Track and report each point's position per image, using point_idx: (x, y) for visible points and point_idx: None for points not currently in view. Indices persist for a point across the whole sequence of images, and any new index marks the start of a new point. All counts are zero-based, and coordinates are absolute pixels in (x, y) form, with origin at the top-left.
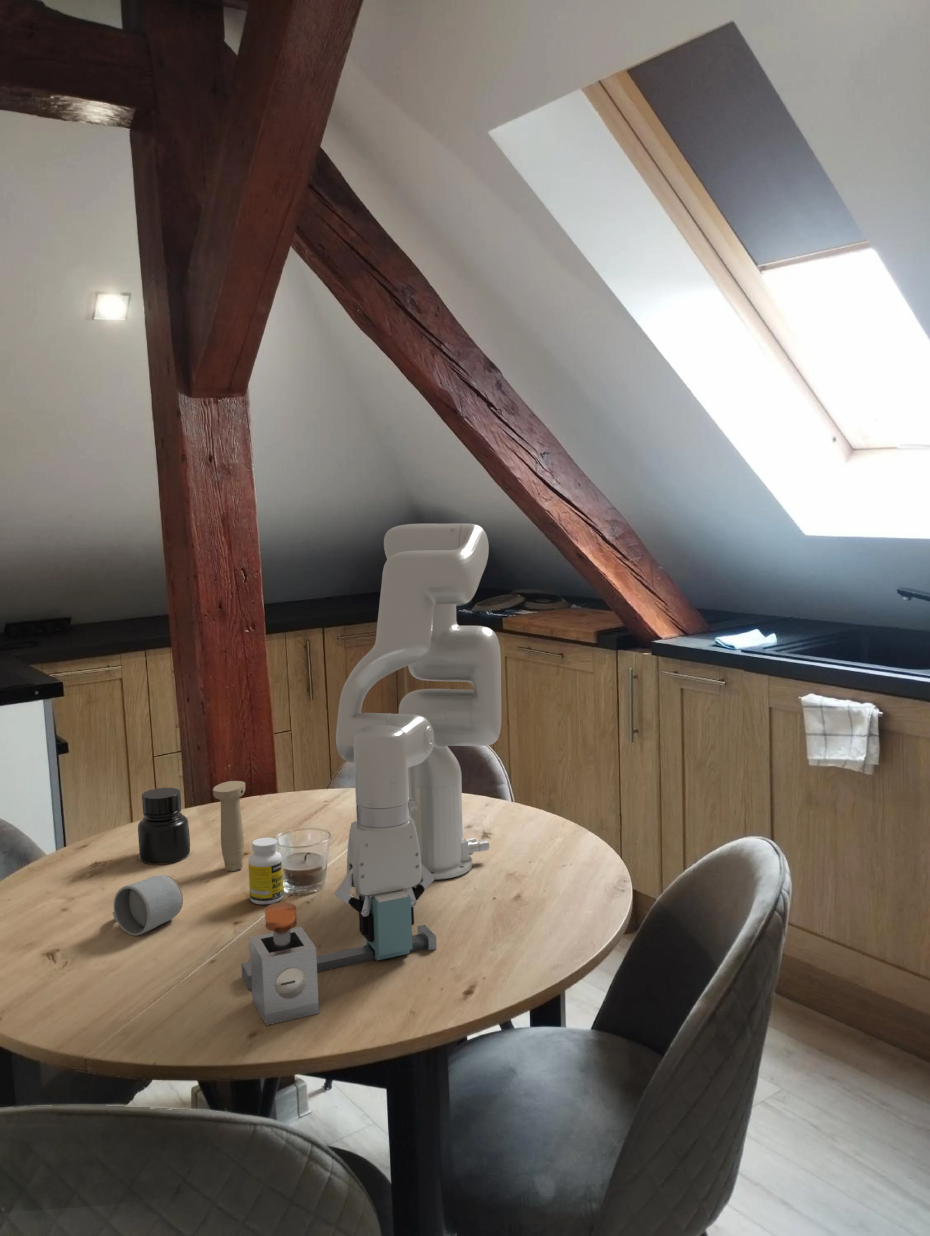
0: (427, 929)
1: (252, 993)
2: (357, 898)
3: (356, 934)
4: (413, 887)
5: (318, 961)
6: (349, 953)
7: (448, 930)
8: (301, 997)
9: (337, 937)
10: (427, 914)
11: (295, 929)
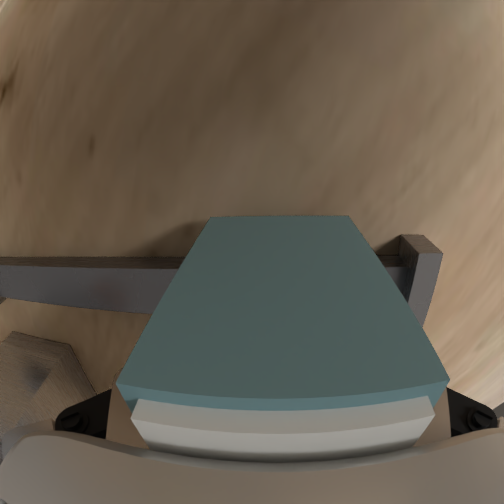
0: (429, 289)
1: (5, 339)
2: (109, 412)
3: (220, 95)
4: (457, 435)
5: (73, 298)
6: (148, 295)
7: (486, 221)
8: None
9: (151, 97)
10: (487, 85)
11: (1, 440)
